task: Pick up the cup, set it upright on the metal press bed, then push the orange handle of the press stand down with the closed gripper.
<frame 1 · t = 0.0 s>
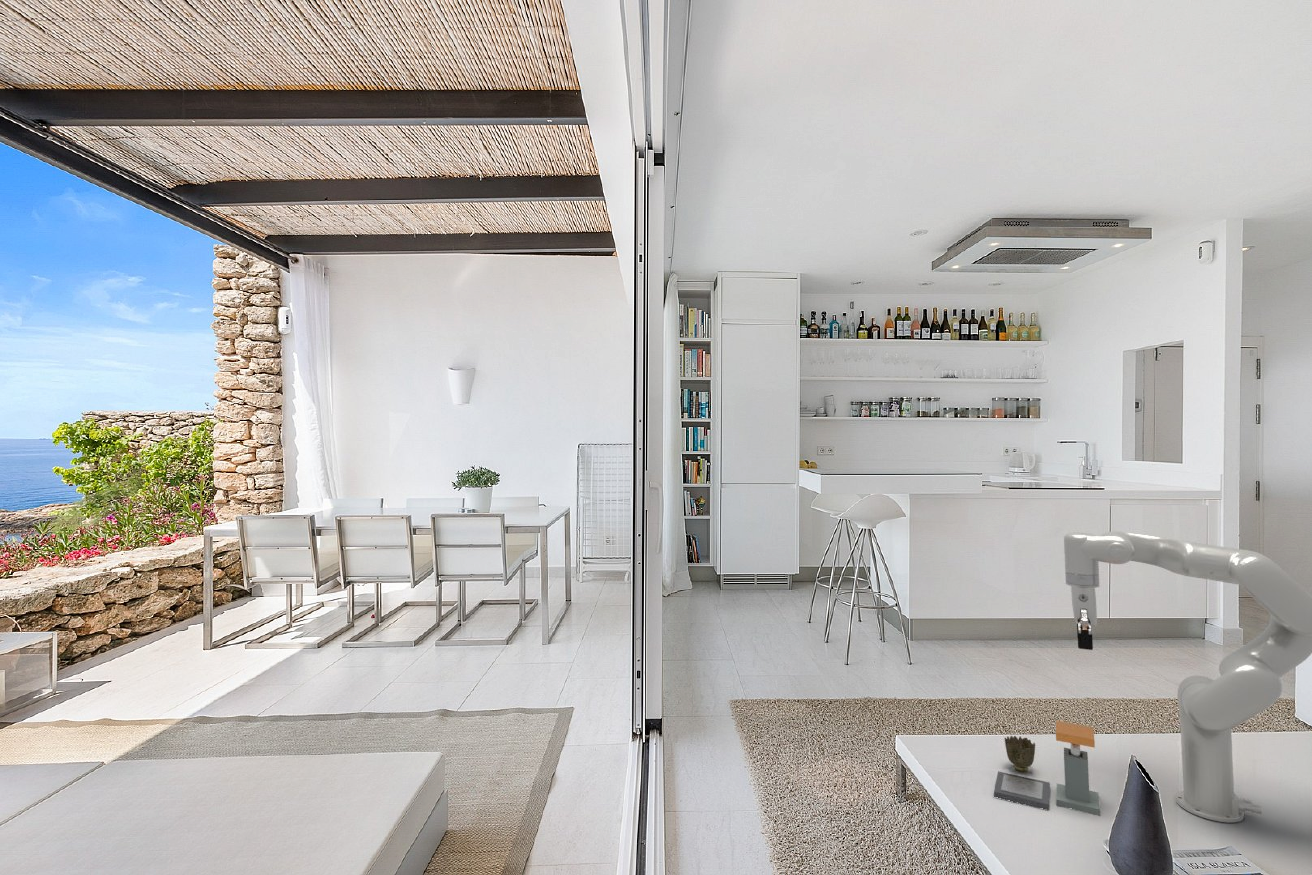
hand: (1085, 643, 170), 37 cm above the table, tool pointing down, fingers open, 9 cm apart
press stand: (1077, 801, 160), on the table
press bed: (1022, 792, 165), on the table
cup: (1020, 770, 177), on the table
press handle: (1075, 753, 161), point 12 cm above the table, slide at 0.0 cm
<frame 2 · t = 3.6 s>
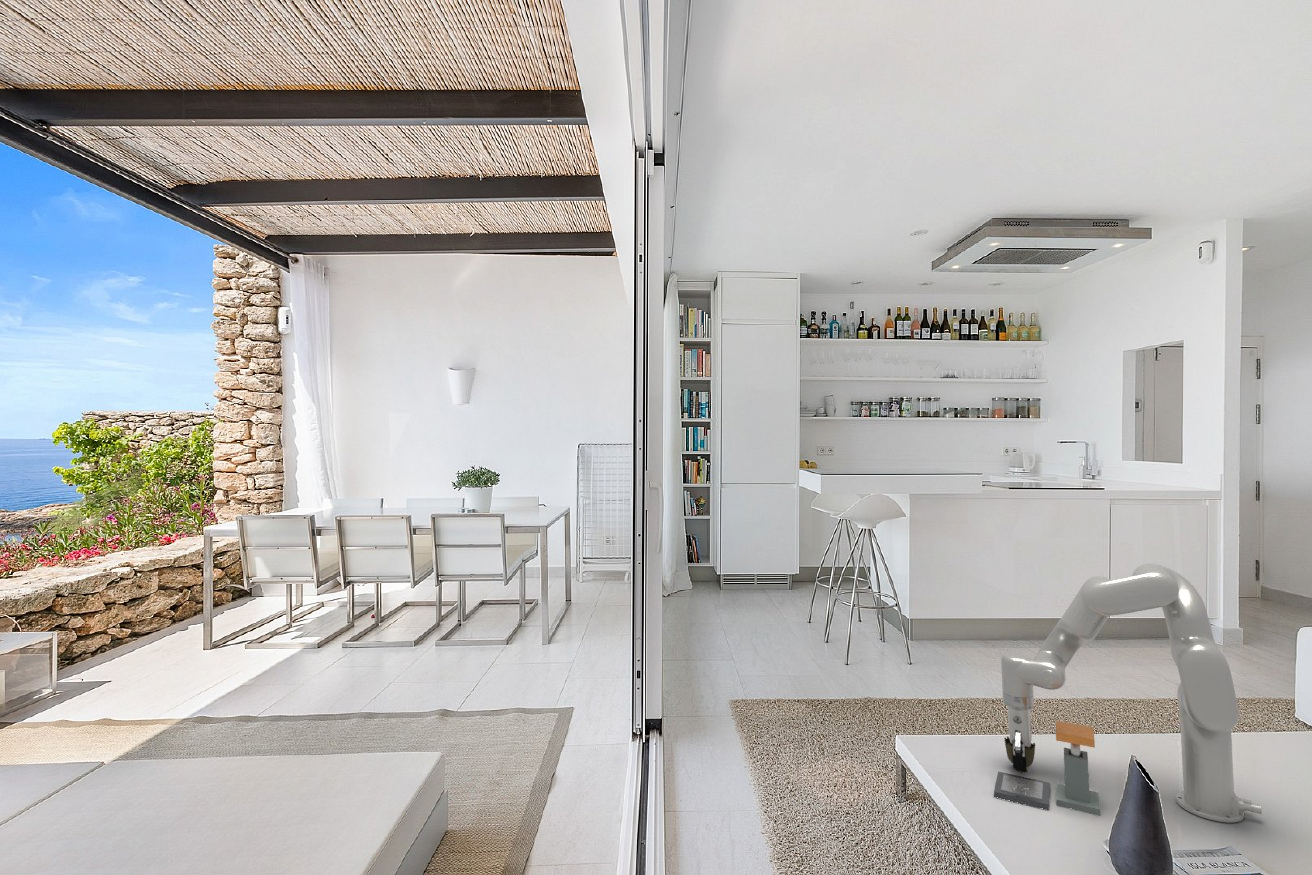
hand: (1020, 763, 177), 2 cm above the table, tool pointing down, fingers closed on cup, 6 cm apart
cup: (1020, 770, 177), on the table, touching gripper
everything else where it was.
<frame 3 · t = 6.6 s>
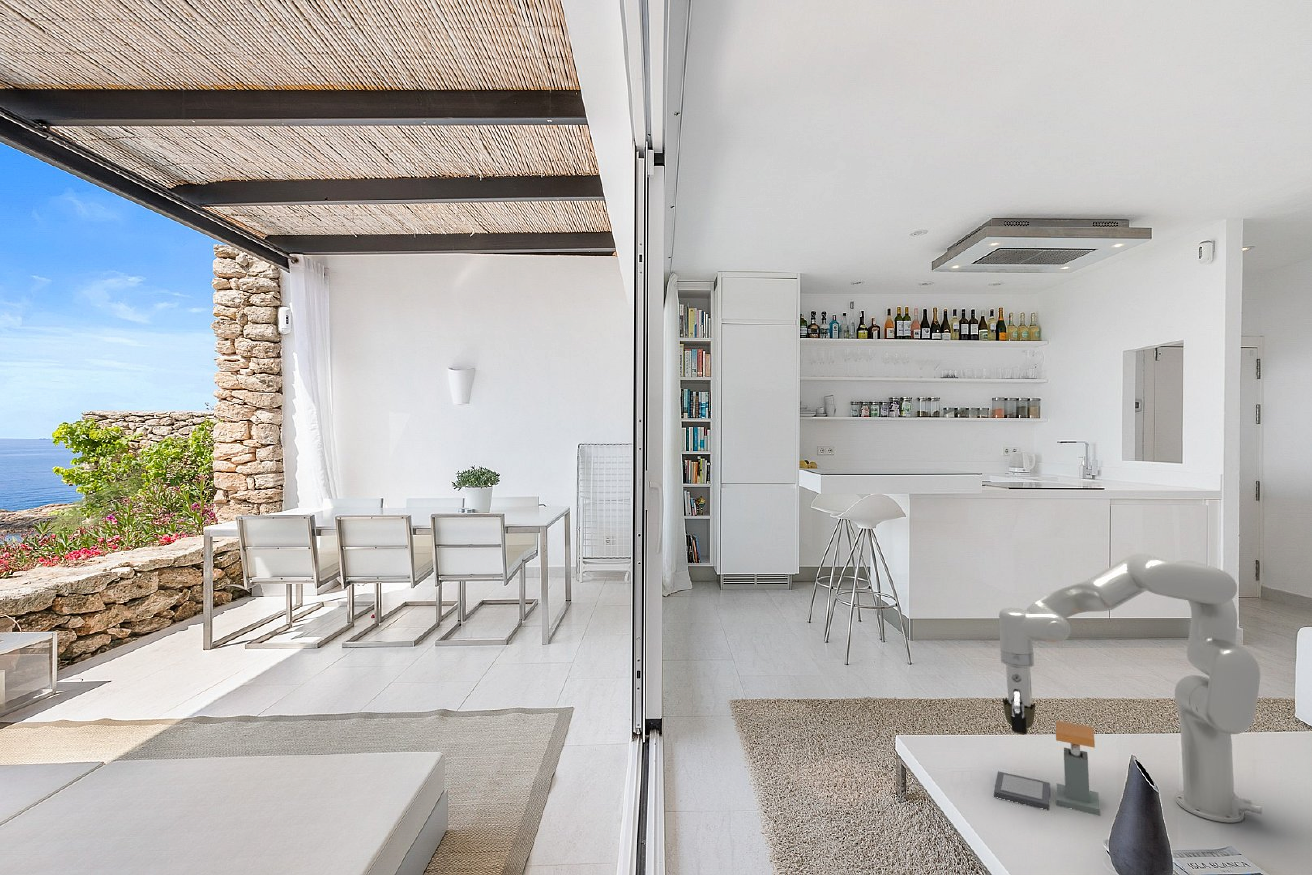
hand: (1020, 725, 166), 17 cm above the table, tool pointing down, fingers closed on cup, 6 cm apart
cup: (1020, 733, 166), point 15 cm above the table, touching gripper
everything else where it was.
when the fingers open (4 cm above the table, at t = 9.4 s): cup stays where it is, resting on press bed.
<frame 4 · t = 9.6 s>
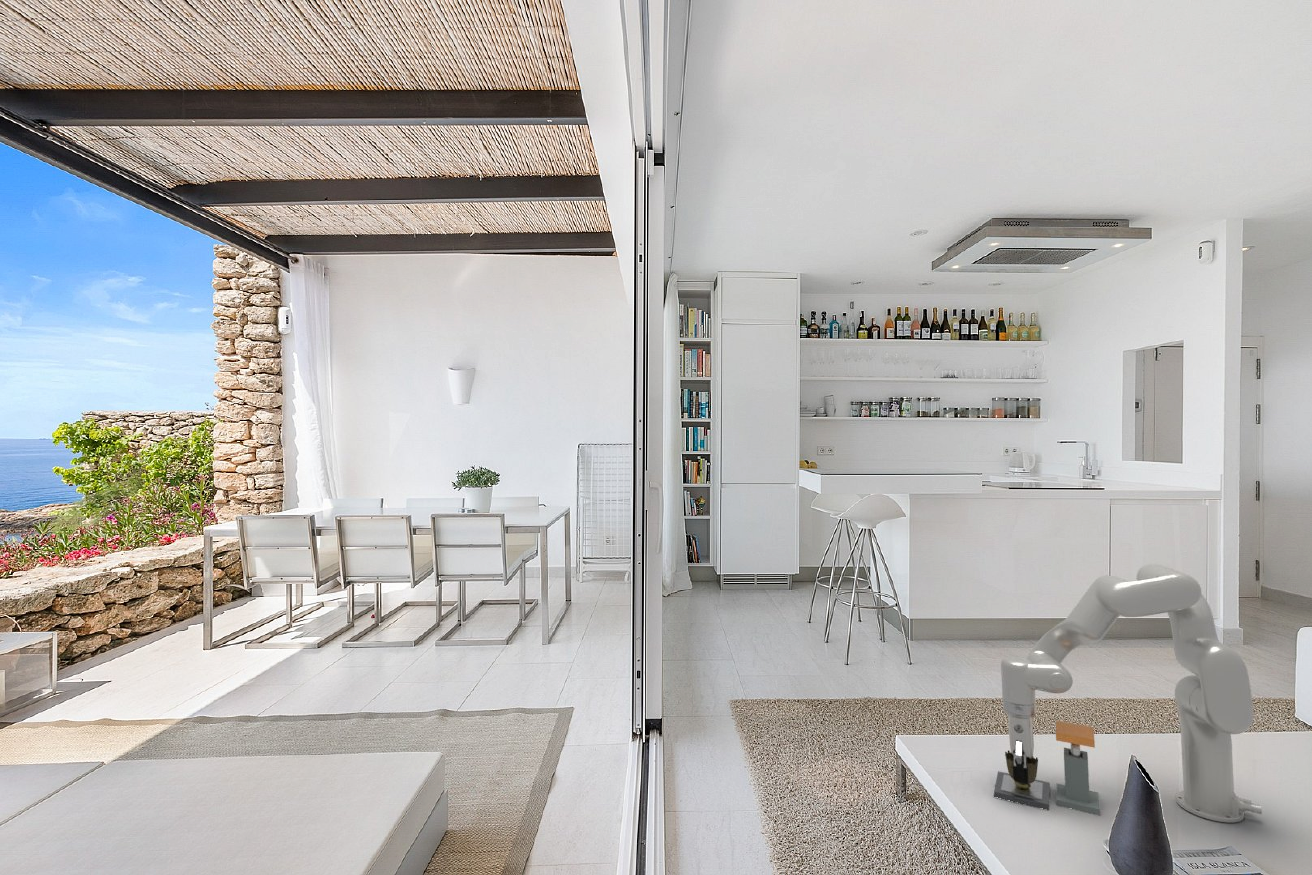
hand: (1022, 774, 165), 5 cm above the table, tool pointing down, fingers open, 8 cm apart
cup: (1022, 787, 165), point 2 cm above the table, touching press bed
everything else where it was.
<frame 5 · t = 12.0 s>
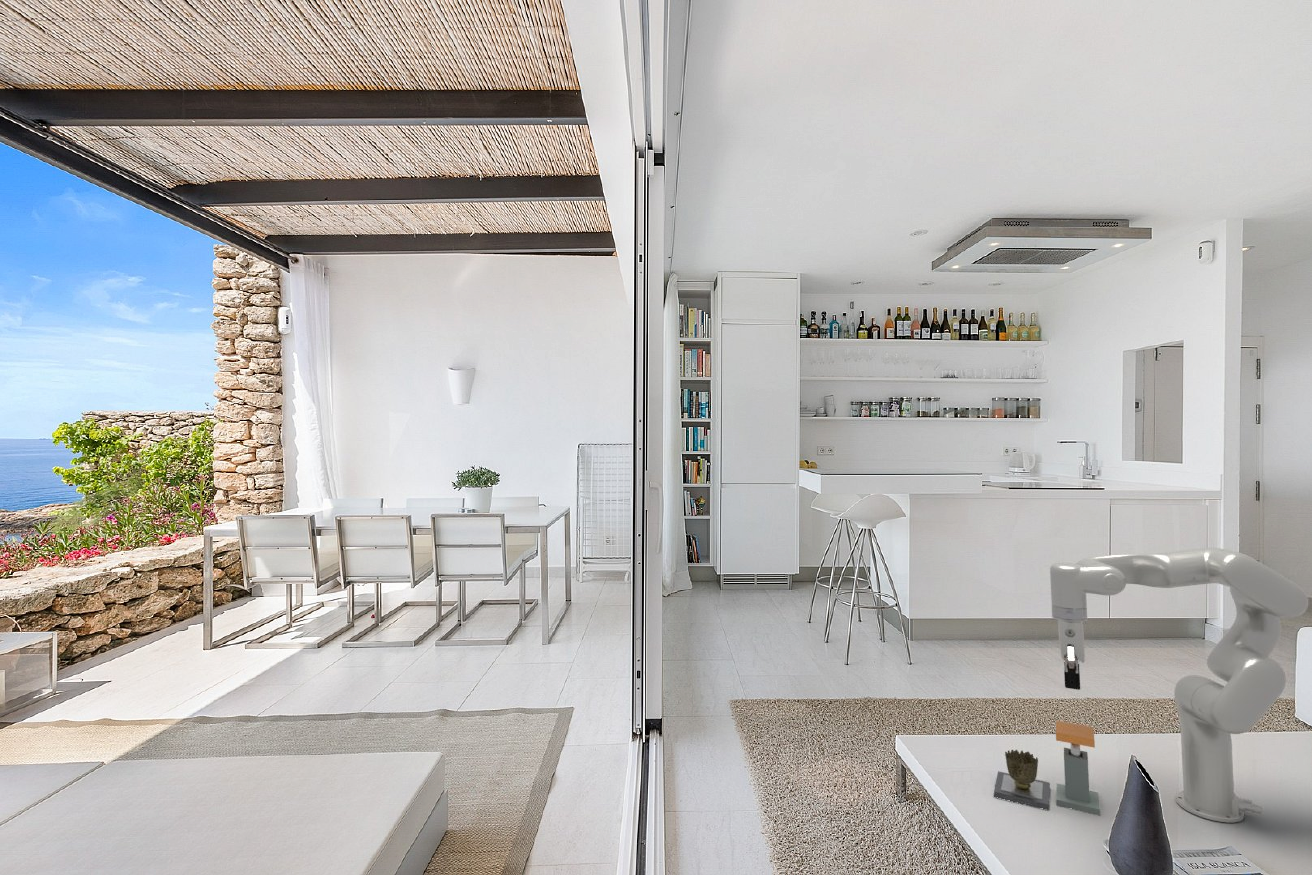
hand: (1072, 682, 161), 30 cm above the table, tool pointing down, fingers open, 7 cm apart
nothing on the table moved.
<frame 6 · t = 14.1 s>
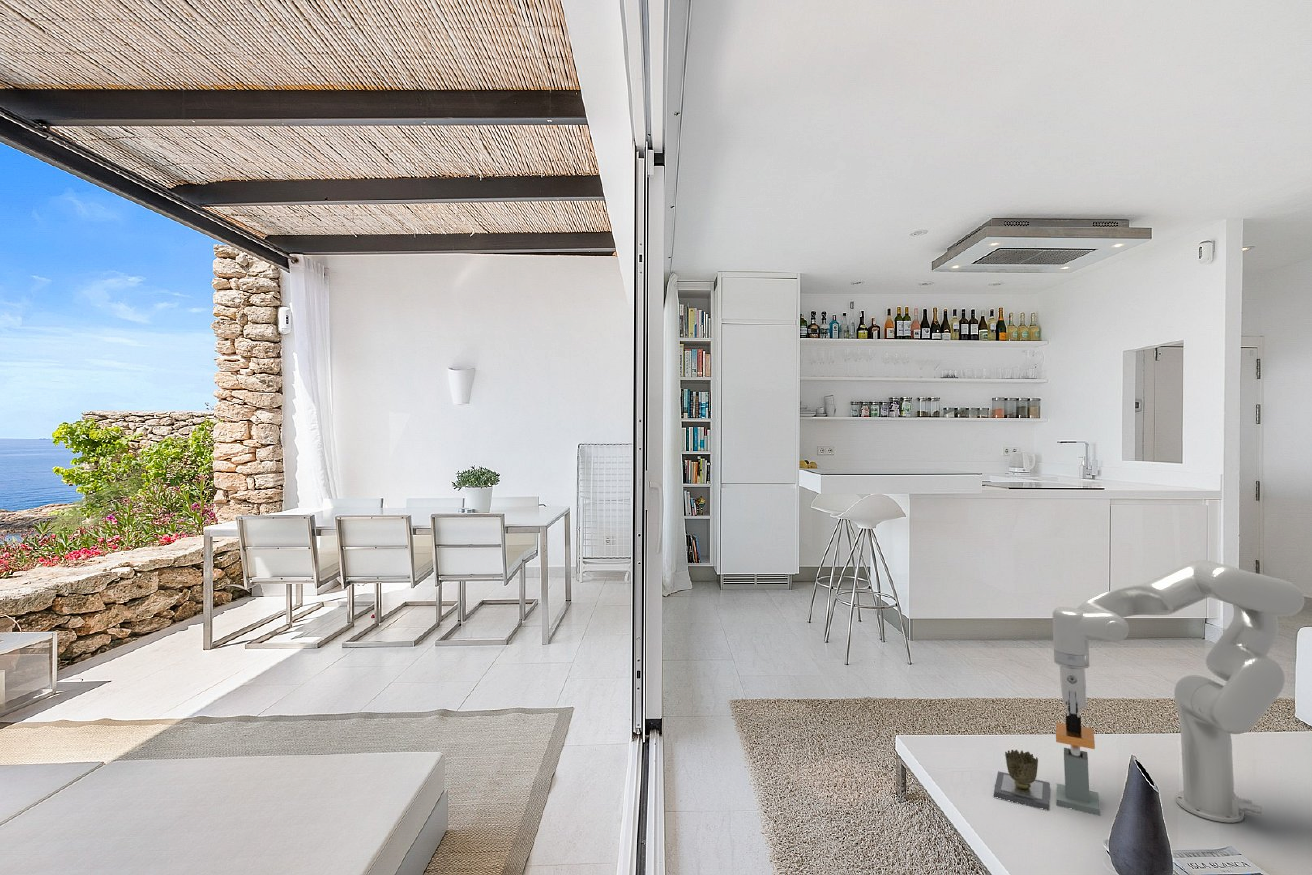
hand: (1073, 731, 161), 18 cm above the table, tool pointing down, fingers closed
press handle: (1075, 755, 161), point 12 cm above the table, slide at 0.4 cm, touching gripper
everything else where it was.
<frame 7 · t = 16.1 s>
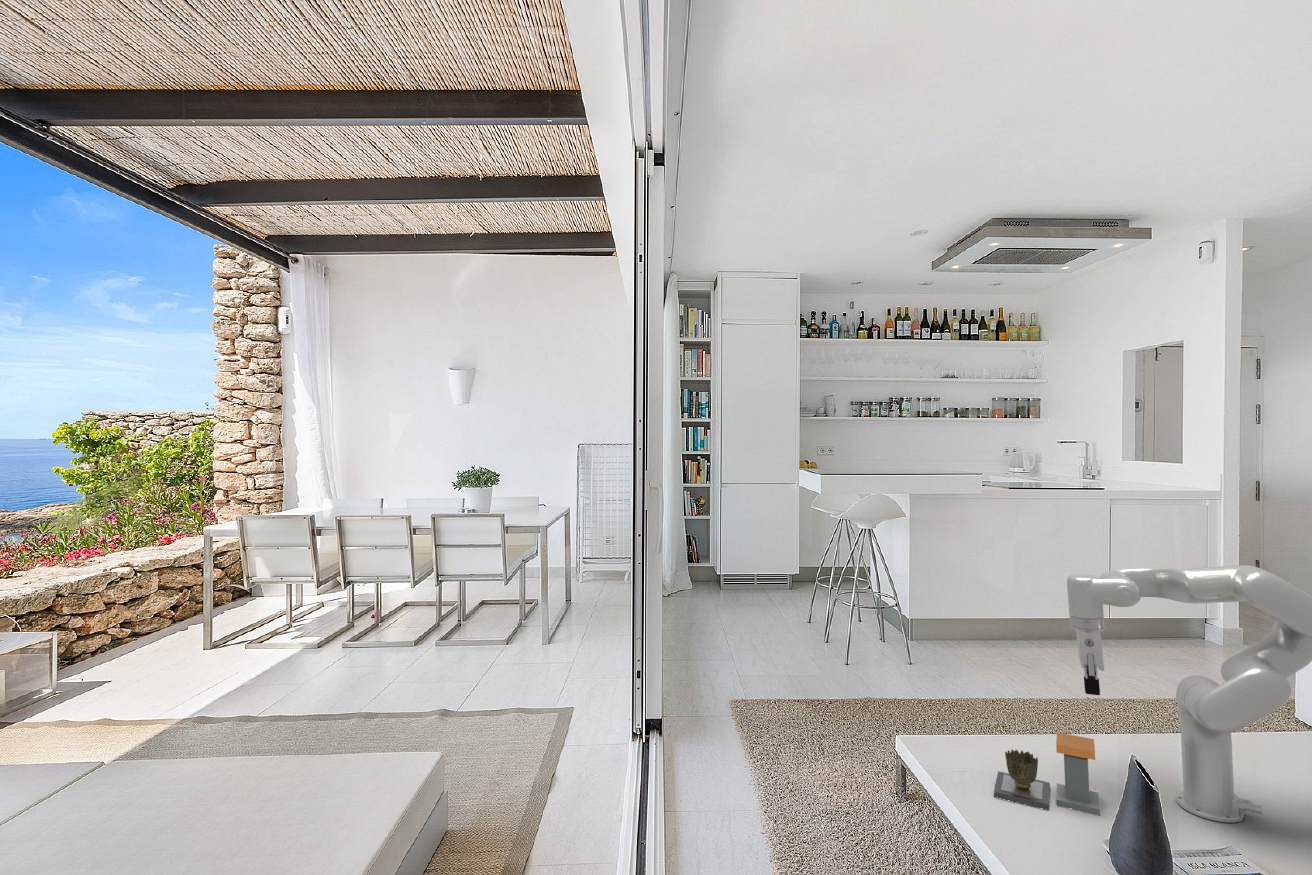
hand: (1092, 693, 166), 25 cm above the table, tool pointing down, fingers closed
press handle: (1076, 765, 161), point 9 cm above the table, slide at 3.0 cm
everything else where it was.
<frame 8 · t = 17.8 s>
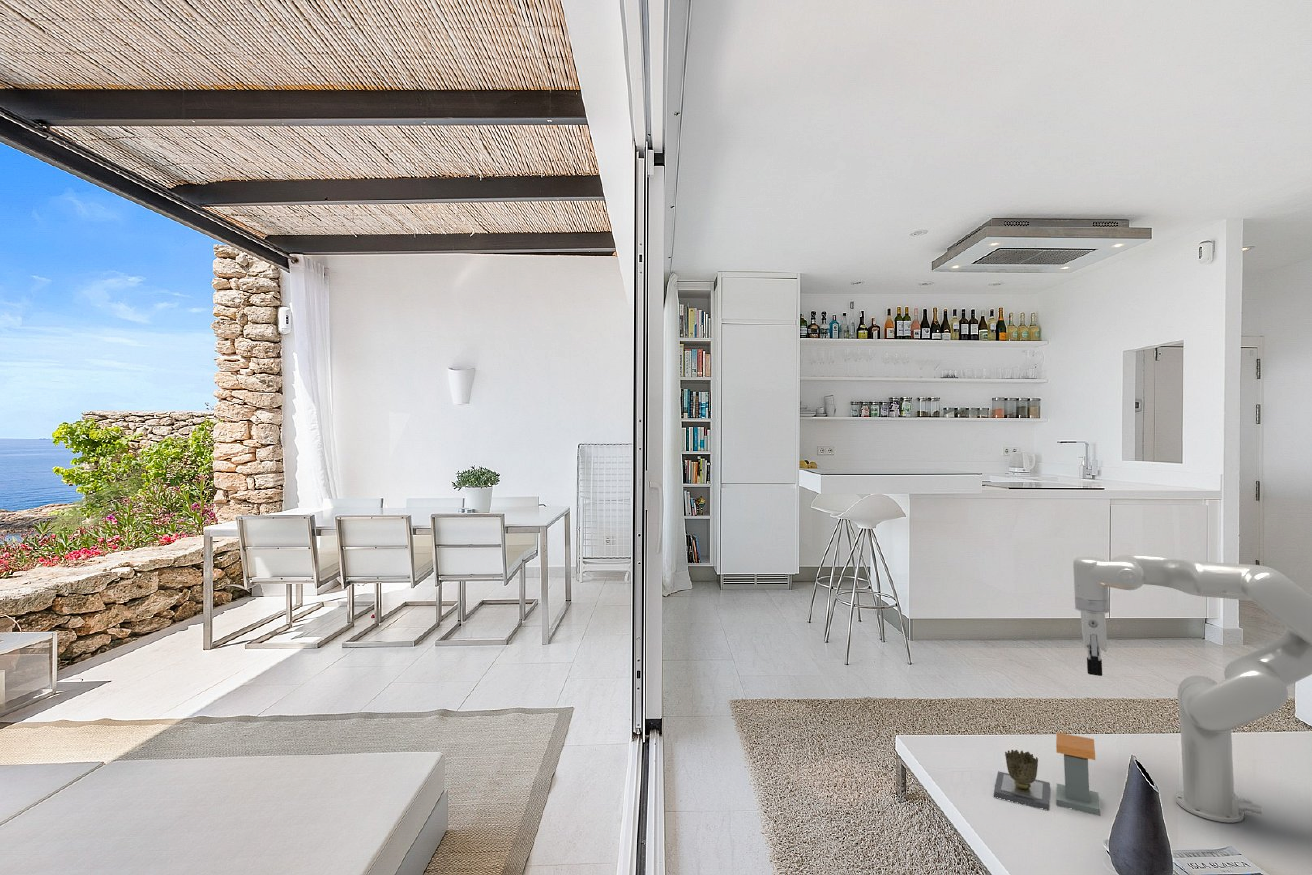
hand: (1094, 674, 169), 29 cm above the table, tool pointing down, fingers closed
nothing on the table moved.
at the end: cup 0.4 cm off-centre on the press bed, point 1.5 cm above the press bed's base; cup tilted 0°; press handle slide at 3.0 cm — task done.
